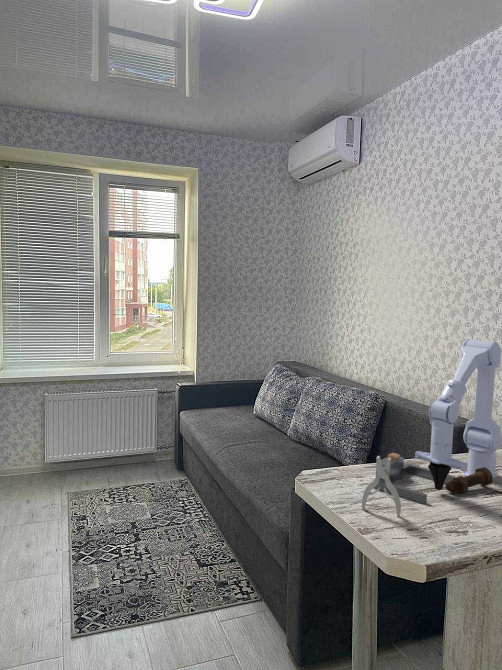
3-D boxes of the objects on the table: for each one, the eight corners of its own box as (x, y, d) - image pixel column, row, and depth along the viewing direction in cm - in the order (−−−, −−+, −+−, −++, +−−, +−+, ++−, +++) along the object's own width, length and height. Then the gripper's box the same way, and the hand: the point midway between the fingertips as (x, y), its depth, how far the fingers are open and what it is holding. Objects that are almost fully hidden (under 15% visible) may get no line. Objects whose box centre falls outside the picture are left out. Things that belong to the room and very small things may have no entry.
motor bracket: (399, 468, 167) (400, 447, 166) (454, 484, 155) (456, 461, 154) (365, 485, 152) (367, 462, 151) (424, 504, 140) (425, 479, 139)
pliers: (400, 516, 132) (403, 459, 131) (399, 518, 131) (402, 461, 129) (362, 508, 136) (365, 453, 135) (361, 510, 135) (363, 455, 134)
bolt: (455, 481, 145) (492, 469, 151) (441, 475, 149) (478, 463, 156) (455, 501, 146) (492, 488, 152) (442, 494, 150) (478, 482, 156)
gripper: (411, 439, 148) (408, 485, 149) (461, 451, 138) (458, 500, 140) (422, 435, 153) (419, 479, 155) (471, 446, 143) (468, 493, 145)
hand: (438, 488), depth 147 cm, fingers closed
